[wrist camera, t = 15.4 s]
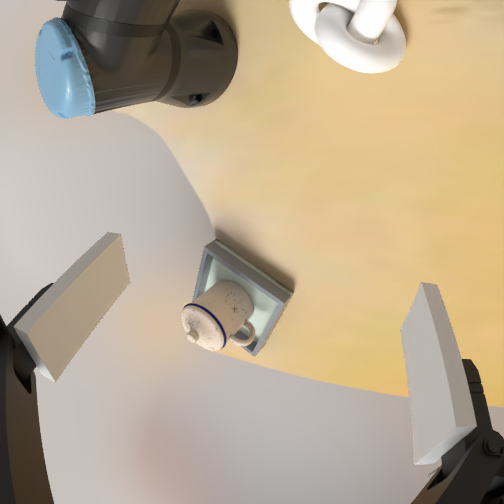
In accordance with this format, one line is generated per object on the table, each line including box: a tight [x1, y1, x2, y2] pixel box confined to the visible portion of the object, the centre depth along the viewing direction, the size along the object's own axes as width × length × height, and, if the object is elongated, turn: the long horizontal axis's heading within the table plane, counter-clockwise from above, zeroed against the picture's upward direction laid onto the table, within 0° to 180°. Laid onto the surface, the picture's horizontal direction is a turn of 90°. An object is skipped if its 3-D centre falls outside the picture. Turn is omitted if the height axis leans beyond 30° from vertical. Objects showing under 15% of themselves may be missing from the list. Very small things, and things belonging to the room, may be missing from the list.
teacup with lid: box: [181, 280, 255, 351], centre depth 52 cm, size 12×9×12 cm
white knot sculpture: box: [289, 0, 406, 73], centre depth 23 cm, size 11×12×9 cm
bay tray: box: [192, 239, 293, 356], centre depth 55 cm, size 16×16×3 cm
